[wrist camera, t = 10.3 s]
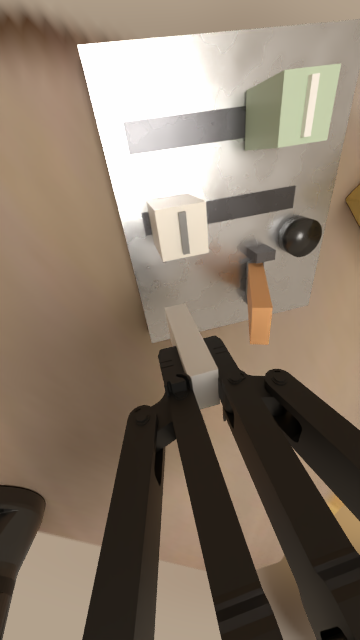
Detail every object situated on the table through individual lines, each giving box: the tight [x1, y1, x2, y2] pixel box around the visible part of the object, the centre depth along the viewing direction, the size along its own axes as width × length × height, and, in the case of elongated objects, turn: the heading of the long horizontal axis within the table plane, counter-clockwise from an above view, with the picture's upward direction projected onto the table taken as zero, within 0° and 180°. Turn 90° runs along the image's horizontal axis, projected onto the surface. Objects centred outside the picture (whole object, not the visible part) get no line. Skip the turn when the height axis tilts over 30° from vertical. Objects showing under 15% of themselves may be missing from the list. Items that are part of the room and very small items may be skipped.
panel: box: [78, 19, 360, 343], centre depth 19 cm, size 17×20×4 cm
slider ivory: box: [147, 194, 209, 262], centre depth 16 cm, size 3×3×4 cm
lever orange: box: [246, 260, 273, 345], centre depth 19 cm, size 1×3×8 cm, turn 6°
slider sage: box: [245, 63, 341, 151], centre depth 14 cm, size 3×3×4 cm
